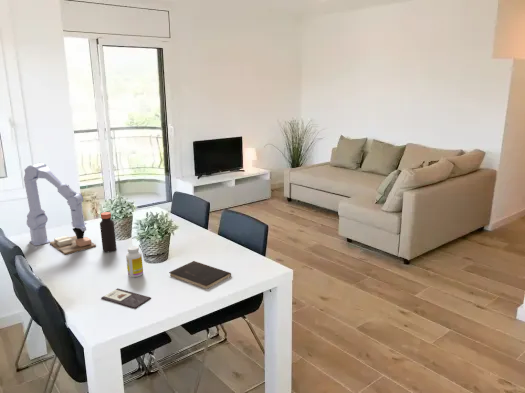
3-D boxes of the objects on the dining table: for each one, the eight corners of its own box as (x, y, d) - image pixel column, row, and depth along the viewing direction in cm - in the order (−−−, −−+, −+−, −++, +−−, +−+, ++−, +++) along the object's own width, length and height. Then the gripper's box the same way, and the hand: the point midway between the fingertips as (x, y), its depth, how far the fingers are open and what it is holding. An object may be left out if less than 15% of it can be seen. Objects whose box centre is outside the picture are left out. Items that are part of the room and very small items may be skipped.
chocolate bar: (135, 307, 165) (101, 297, 173) (135, 309, 165) (101, 299, 173) (150, 297, 173) (117, 288, 181) (151, 299, 173) (118, 290, 181)
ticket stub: (75, 243, 229) (75, 239, 229) (87, 241, 233) (86, 236, 233) (80, 246, 225) (79, 242, 225) (91, 243, 229) (91, 239, 229)
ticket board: (50, 243, 234) (49, 237, 233) (79, 236, 244) (78, 230, 244) (65, 254, 218) (64, 248, 218) (96, 246, 229) (95, 240, 228)
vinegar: (107, 253, 220) (103, 216, 214) (100, 250, 224) (96, 213, 219) (119, 249, 225) (115, 213, 219) (112, 246, 229) (108, 210, 224)
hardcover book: (206, 290, 180) (206, 285, 180) (169, 276, 194) (169, 272, 193) (231, 277, 193) (231, 272, 192) (194, 264, 206) (194, 260, 206)
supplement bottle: (146, 272, 197) (143, 246, 194) (137, 278, 191) (135, 251, 188) (133, 270, 199) (131, 244, 196) (125, 276, 193) (122, 249, 190)
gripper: (90, 217, 226) (93, 241, 230) (79, 212, 236) (82, 235, 240) (77, 220, 221) (80, 245, 225) (66, 214, 231) (69, 238, 235)
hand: (80, 240), depth 232 cm, fingers closed
